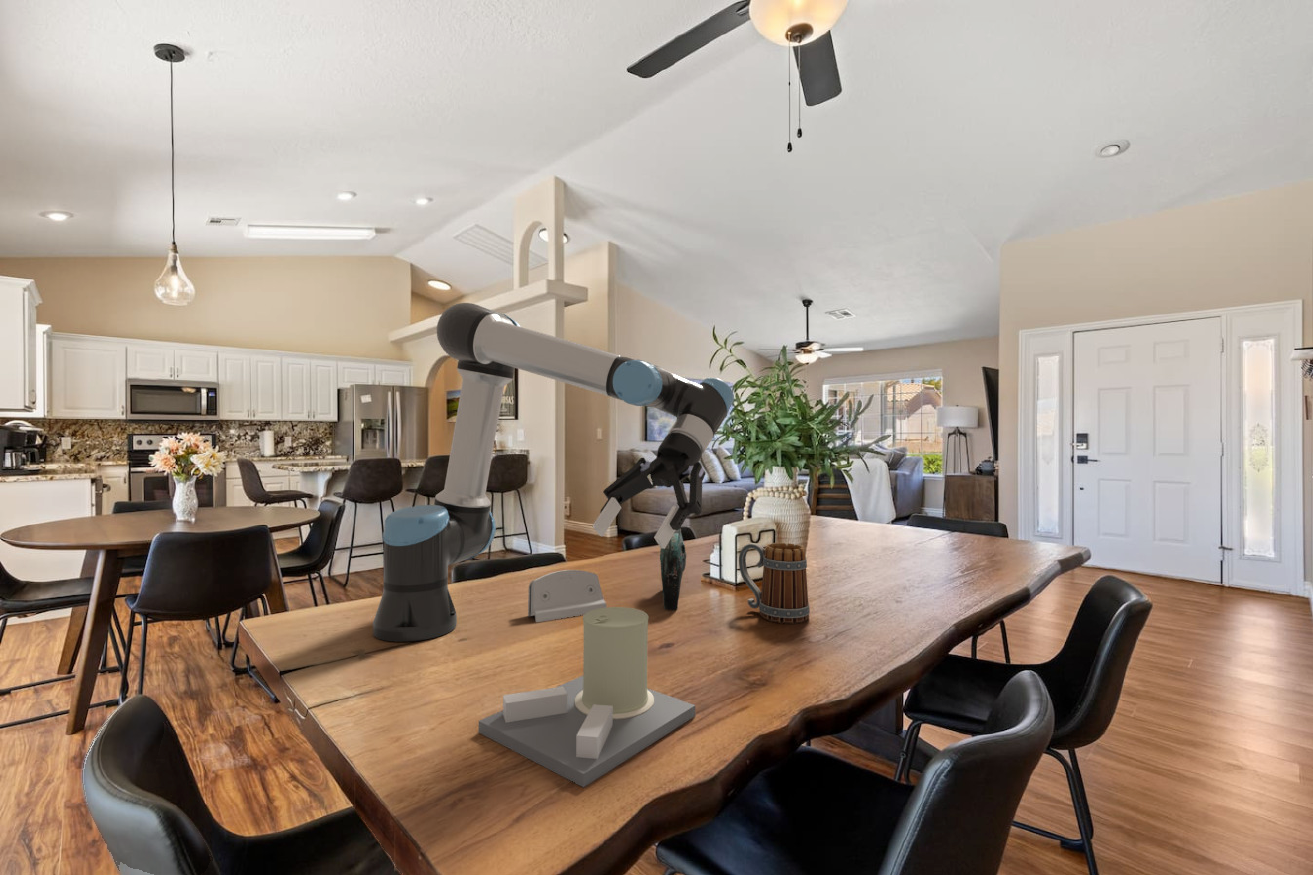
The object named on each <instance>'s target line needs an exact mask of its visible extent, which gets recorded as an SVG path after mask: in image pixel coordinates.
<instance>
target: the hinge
mask: <svg viewBox="0 0 1313 875" xmlns="http://www.w3.org/2000/svg"><path fill="white" fill-rule="evenodd" d="M527 596H528V600H527V602H528V603H527V608H528V609H527V617H534V621H535V623H543V622H550V621H555V619H556V620H562V619H567V617H569V618H574V617H573V616H575V617H581V616H584V615H585V614H586V613H587V612H589V611H592V610H595V609H600V608H607V607H608V605H607V602H606V601H605V599H604V595H603V592H602V588H601V584H600V580H599V576H598V574H597V573H595V572H591V571H586V570H581V569H565V570H564V569H563V570H558V571H552V572H549V573H546V574H544V575H542V576H540V577H538V578H535V579H533V580H532V581H531V582H529V585H528V595H527ZM580 615H581V616H580ZM561 618H562V619H561Z"/></svg>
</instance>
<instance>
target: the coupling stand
mask: <svg viewBox="0 0 1313 875" xmlns="http://www.w3.org/2000/svg"><path fill="white" fill-rule="evenodd" d="M647 694H648V701H647V703H646V704H645V705H644V706H642V707H641V708H639V709H637V710H634V711H631V712H626V713H617V714H613V706H608V705H595V704H593V706H592V708H591V709H589V708H587V707H586V706H585V705H584V704H583V702H582V695H583V675H581V676H578V677H576V678H574V679H572V680H570V681H567V682H565V683H563V684H560V685H558V686H555V687H550V688H545V689H543V688H541V689H536V690H530V691H523V692H516V693H511V694H510V693H509V694H504V695H502V697H503V698H502V710H500V711H498V712H495V713H493V714H492V715H489V716H487V717H484V718H482V719H479V720H478V733H479V734H481V735H483V736H485V737H487V738H488V739H490V740H493V741H494V742H496V743H497V744H500V745H502V746H504V747H506V748H508V749H509V750H510V751H511V750H512V751H513V752H515V753H517V754H519V755H521V756H523V757H524V758H526V759H529V760H530V761H532V762H534V763H536V764H538V765H539V766H541V767H543V768H546V769H547V770H549V771H552V772H554V774H557V775H559V776H561V777H563V779H564V778H565V779H567V780H568V781H569V782H572V781H573V782H572V783H574V782H575V783H574V784H576V785H578V786H580V787H582V788H585V787H587V786H588V785H590V784H592V783H594V781H596V780H598V779H599V778H602V776H604V775H605V774H607V773H608V772H610V771H612V770H613V769H615V768H617V767H618V766H619V765H621V764H622V763H624V762H626V761H628V760H629V759H630V758H632V757H634V756H635V755H637V754H638V753H639V752H641V751H643V750H645V749H646V748H648V747H649V746H651V745H653V744H654V743H655V742H657V741H659V740H661V739H662V738H663V737H665V736H667V735H668V734H669V733H671V732H673V731H674V730H676V729H677V728H679V727H681V726H682V725H684V724H685V723H687V722H688V721H690V720H691V719H693V718H694V717H696V704H692V703H690V702H687V701H684V700H682V699H679V698H676V697H674V696H670V695H667V694H664V693H662V692H659V691H656V690H653V689H650V688H648V687H647Z"/></svg>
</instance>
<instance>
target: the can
mask: <svg viewBox="0 0 1313 875" xmlns="http://www.w3.org/2000/svg"><path fill="white" fill-rule="evenodd" d="M582 616H583V617H582V620H583V623H582V624H583V660H582V661H583V663H582V665H583V669H582V670H583V674H582V676H583V695H582V702H583V704H584V705H585V706H586V707H587V708H589V709H591V708H592V706H593V704H595V705H608V706H613V714H617V713H626V712H631V711H634V710H637V709H639V708H641V707H642V706H644V705H645V704H646V703H647V701H648V694H647V688H648V637H649V636H648V635H649V634H648V630H649V617H650V616H649V615H648V614H647V612H645V611H644V610H641V609H638V608H633V607H628V606H627V607H624V606H610V607H609V606H607V608H600V609H595V610H592V611H589V612H587V613H586V614H585V615H582Z"/></svg>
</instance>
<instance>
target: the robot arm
mask: <svg viewBox="0 0 1313 875" xmlns="http://www.w3.org/2000/svg"><path fill="white" fill-rule="evenodd" d="M436 337H437V341H438V343H439V346H440V347H441V349H442V350H443V351H444V352H445V353H446V354H447V355H448V356H450V357H451V358H453V359H455V360H457V361H458V362H457V367H456V371H457V372H458V374H459V375H460V376H461V379H462V383H461V389H460V394H459V400H458V407H457V412H456V419H455V424H454V430H453V436H452V441H451V442H452V443H451V448H450V452H449V453H450V454H449V460H448V466H447V471H446V476H445V482H444V489H443V490H441V491H440V492H439V493H437V494H436V495H435V497H434V504H421V505H415V506H407V507H404V508H401V509H397V510H395V511H393V512H391V513H390V514H388V515H387V517H386V518H385V519H384V526H383V527H384V528H383V532H382V541H383V549H382V550H383V589H382V590H383V592H382V595H381V598H380V601H379V604H378V608H377V610H376V612H375V616H374V619H373V622H372V635H373V636H374V637H375V638H376V639H379V640H382V641H386V642H399V643H401V642H402V643H403V642H407V643H408V642H417V641H424V640H429V639H435V638H438V637H441V636H443V635H447V634H448V633H451V632H452V631H454V630H455V629H456V627H457V625H458V624H457V623H458V620H457V617H458V615H457V612H456V607H455V605H454V601H453V599H452V596H451V593H450V591H449V586H448V585H449V584H448V582H449V581H448V577H449V572H448V571H449V566H451V565H454V564H457V563H460V562H462V561H468V560H471V559H473V558H475V557H477V556H478V555H480V554H482V553H483V552H485V551H486V550H487V549H488V548H489V547H490V545H492V542H493V541H494V539H495V535H496V530H497V529H496V528H497V525H496V520H495V517H493V513H492V511H491V506H492V502H491V501H490V498H488V497H487V495H486V493H487V487H488V481H489V476H490V469H491V464H492V459H493V452H494V446H495V440H496V434H497V430H498V425H499V424H498V423H499V417H500V412H501V407H502V406H501V405H502V401H503V394H504V389H505V386H507V385H508V384H509V383H511V382H512V381H513V378H514V374H515V369H517V370H522V371H523V372H524V371H525V372H528V373H531V374H535V375H537V376H542V377H545V378H547V379H551V380H554V381H558V382H561V383H565V384H567V385H572V386H574V387H577V388H582V389H584V390H587V391H591V392H594V393H597V394H599V395H600V394H601V395H605V396H607V397H611V398H613V399H617V400H619V401H623V402H624V403H626V404H629V405H632V406H635V407H636V406H637V407H649V408H653V409H654V408H655V409H657V410H660V411H661V412H664V413H666V414H670V415H671V416H673V417H676V418H677V419H676V420H675V422H674V423H673V425H672V426H671V427H670V429H669V431H668V432H667V434H666V436H665V437H664V438H663V441H662V442H660V444H659V446H658V448H657V453H656V458H655V459H653V460H652V461H648V460H646V459H645V457H639V459H638V461H636V463H635V464H634V465H633V466H632V467H631V468H629V470H627V471H626V472H624V473H623V474H622V475H621V476H620V477H618V478H617V479H616V480H615V481H613V482H612V483H611V484H610V485H608V486H607V487H605V489H604V490H603V492H602V493H603V495H604V496H605V497H606V498H607V500H606V502H605V503H604V504H603V506H602V508H601V509H600V512H599V515H598V517H597V518H596V519H595V521H594V522H593V524H592V528H593V529H594V531H595V532H596V533H597V534H598V536H599V537H604V535H605V534H606V532H607V531H608V529H609V528H610V527H611V525H612V523H613V521H614V520H615V519H616V517H617V516H618V514H619V512H620V510H622V506H621V505H622V504H624V503H625V502H626V501H629V499H632V498H633V497H635V496H637V495H639V494H640V493H643V491H645V490H647V489H653V488H654V487H665V488H671V487H673V490H674V494H675V499H676V504H677V506H676V505H672V507H671V508H670V510H669V511H668V513H667V515H666V517H665V518H664V520H663V522H662V523H661V525H660V527H658V528H659V529H658V530H657V531H656V533H655V535H654V537H653V538H654V539H655V541H656V543H657V544H658V546H659V548H660V549H661V548H663V549H665V548H666V546H667V544H668V543H669V541H670V539H671V537H672V536H673V534H674V532H675V530H679V529H680V528H682V526H683V524H684V522H685V520H686V518H687V517H690V515H691V514H694V515H697V516H698V515H700V514H702V510H703V509H702V508H703V481H704V479H705V477H706V473H707V472H706V471H705V468H704V467H703V465H702V464H701V462H700V460H701V459H702V456H703V455H704V453H705V452H706V451H707V448H708V447H709V445H710V443H711V442H712V441H713V438H714V436H715V435H716V433H717V432H718V430H719V428H720V427H721V425H722V424H723V422H724V421H725V419H726V418H727V416H728V413H729V411H730V409H731V407H732V405H733V403H734V400H735V395H734V392H733V390H732V387H731V386H730V385H729V384H728V383H727V382H726V381H724V380H722V379H720V378H718V377H713V378H712V377H706V378H704V379H703V380H702V381H701V382H700V383H697V382H694V381H692V380H688V379H686V378H684V377H682V376H680V375H677V374H675V373H673V372H670V371H668V370H666V369H664V368H662V367H660V366H657V365H655V364H652V363H650V362H648V361H645V360H641V359H635V358H630V357H626V356H623V355H620V354H616V353H613V352H609V351H605V350H602V349H600V348H595V347H593V346H588V345H585V344H583V343H582V344H581V343H578V342H574V341H571V340H568V339H564V338H562V337H557V336H553V335H550V334H546V333H543V332H539V331H536V330H532V329H529V328H525V327H522V326H521V325H520V324H519V322H517V321H516V320H515V319H513V318H511V317H510V316H508V315H507V314H505V313H502V312H501V313H500V312H497V311H495V310H492V309H489V308H486V307H483V306H480V305H478V304H475V303H470V302H460V303H456V304H453V305H451V306H450V307H448V308H447V309H445V310H444V311H443V312H442V314H441V315H440V317H439V319H438V321H437V325H436ZM648 476H650V479H651V480H650V479H649V477H648ZM688 477H689V497H688V498H687V495H686V491H685V486H684V482H683V480H685V479H686V478H688ZM688 499H689V500H688Z"/></svg>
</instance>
